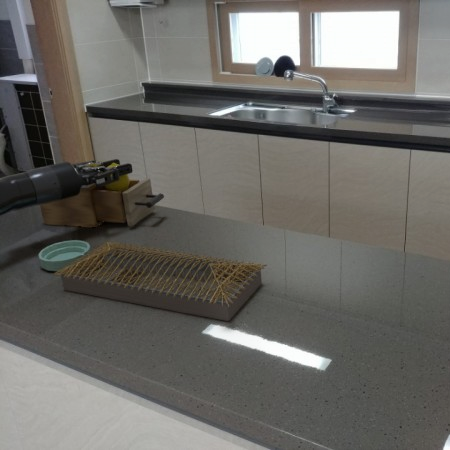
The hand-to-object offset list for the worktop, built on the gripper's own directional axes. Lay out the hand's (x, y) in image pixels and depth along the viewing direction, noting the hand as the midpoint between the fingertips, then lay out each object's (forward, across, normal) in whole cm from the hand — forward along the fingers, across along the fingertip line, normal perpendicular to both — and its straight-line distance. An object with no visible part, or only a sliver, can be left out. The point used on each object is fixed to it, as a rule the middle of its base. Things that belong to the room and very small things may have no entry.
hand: (124, 165), depth 123 cm
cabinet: (-8, +9, +13) cm, 17 cm away
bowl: (-21, -12, +13) cm, 27 cm away
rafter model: (-14, -35, +13) cm, 40 cm away
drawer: (-2, -1, +12) cm, 12 cm away
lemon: (-3, 0, +7) cm, 7 cm away
